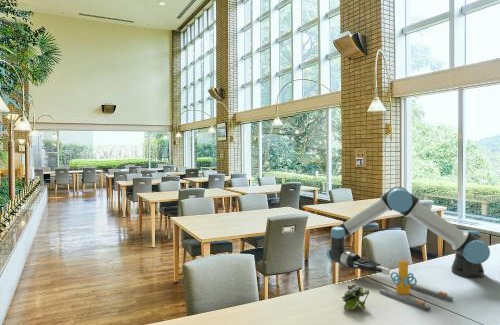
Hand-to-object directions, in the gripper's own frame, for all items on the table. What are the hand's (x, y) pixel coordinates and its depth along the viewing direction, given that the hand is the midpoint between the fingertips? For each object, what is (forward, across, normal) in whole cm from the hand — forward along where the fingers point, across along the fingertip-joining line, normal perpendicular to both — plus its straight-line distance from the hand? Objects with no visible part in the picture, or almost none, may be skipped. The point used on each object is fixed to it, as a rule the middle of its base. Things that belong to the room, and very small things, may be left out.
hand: (388, 272), depth 180 cm
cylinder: (+8, 0, -8) cm, 11 cm away
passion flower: (+7, +31, -8) cm, 33 cm away
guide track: (+15, 0, -7) cm, 17 cm away
